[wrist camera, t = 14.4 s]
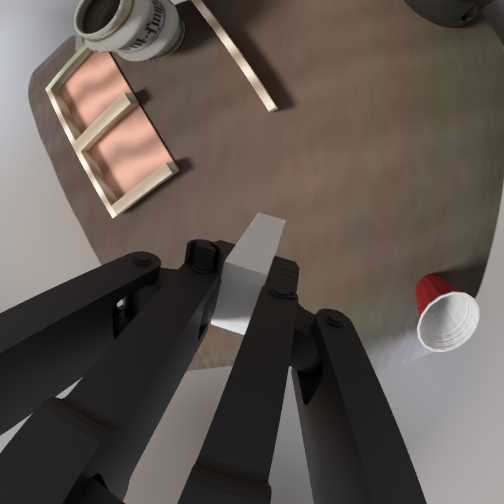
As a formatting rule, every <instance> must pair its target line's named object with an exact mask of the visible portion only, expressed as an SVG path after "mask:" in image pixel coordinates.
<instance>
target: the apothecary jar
mask: <svg viewBox="0 0 504 504" xmlns="http://www.w3.org/2000/svg"><path fill="white" fill-rule="evenodd" d="M74 26H75V29H76V31H77V33H79V34H80V37H81V40H82V42H83V43H84V45H85V46H86V47H87V48H89V49H90V50H92V51H95V52H100V53H105V52H111V51H115V52H116V53H117V54H118V55H119V56H120V57H122V58H124V59H126V60H130V61H142V60H146V59H147V60H151V59H154V58H158V59H162V58H165V57H167V56H169V55H170V54H172V53H173V52H174V51H175V50H176V49H177V48H178V46H179V45H180V44H181V42H182V40H183V37H184V34H185V26H184V22H183V20H182V18H181V17H180V16H179V15H178V12H177V9H176V7H175V5H174V4H173V3H172V2H171V1H170V0H81V2H80V3H79V5H78V7H77V10H76V12H75V16H74Z"/></svg>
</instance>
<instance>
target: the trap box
mask: <svg viewBox="0 0 504 504" xmlns="http://www.w3.org/2000/svg"><path fill="white" fill-rule="evenodd" d="M191 1H192V2H193V4H194V5H195V6H196V8H197V9H198V10H199V11H200V13H201V14H202V15H203V17H204V18H205V19H206V21H207V22H208V23H209V25H210V26H211V27H212V29H213V30H214V31H215V33H216V34H217V35H218V37H219V38H220V39H221V41H222V42H223V44H224V45H225V46H226V48H227V49H228V51H229V52H230V53H231V55H232V56H233V58H234V59H235V61H236V62H237V63H238V65H239V66H240V68H241V69H242V71H243V72H244V74H245V75H246V77H247V78H248V80H249V81H250V83H251V84H252V86H253V87H254V89H255V90H256V92H257V93H258V95H259V96H260V98H261V99H262V101H263V103H264V104H265V106H266V107H267V109H268V110H269V111H270V112H273V111H275V110H277V109H278V107H277V106H276V104H275V103H274V101H273V99H272V98H271V96H270V95H269V93H268V92H267V90H266V89H265V87H264V86H263V84H262V83H261V81H260V80H259V78H258V77H257V75H256V74H255V72H254V71H253V69H252V68H251V66H250V65H249V63H248V62H247V60H246V59H245V58H244V56H243V55H242V53H241V52H240V51H239V49H238V48H237V46H236V45H235V44H234V42H233V41H232V39H231V38H230V37H229V35H228V34H227V33H226V31H225V30H224V29H223V27H222V26H221V25H220V23H219V22H218V21H217V19H216V18H215V17H214V16H213V14H212V13H211V12H210V10H209V9H208V8H207V7H206V5H205V4H204V3H203V2H202V0H191ZM46 91H47V94H48V96H49V98H50V100H51V102H52V105H53V107H54V109H55V111H56V113H57V115H58V118H59V120H60V122H61V124H62V126H63V128H64V130H65V132H66V134H67V136H68V138H69V140H70V142H71V144H72V146H73V148H74V150H75V152H76V154H77V156H78V158H79V160H80V161H81V163H82V165H83V167H84V169H85V171H86V173H87V174H88V176H89V178H90V180H91V182H92V183H93V185H94V187H95V189H96V190H97V192H98V194H99V196H100V197H101V199H102V201H103V203H104V204H105V206H106V208H107V209H108V211H109V213H110V214H111V216H112V218H114V217H116V216H118V215H120V214H122V213H123V212H125V211H126V210H127V209H128V208H130V207H131V206H132V205H134V204H135V203H136V202H138V201H139V200H140V199H141V198H143V197H144V196H145V195H147V194H148V193H149V192H151V191H152V190H154V189H155V188H156V187H158V186H159V185H160V184H162V183H163V182H164V181H166V180H167V179H169V178H170V177H171V176H173V175H174V174H176V173H177V172H179V171H180V170H179V169H178V167H177V165H176V164H175V162H174V161H173V159H172V157H171V156H170V154H169V152H168V151H167V149H166V147H165V146H164V144H163V142H162V141H161V139H160V137H159V136H158V134H157V132H156V131H155V129H154V127H153V126H152V124H151V122H150V121H149V119H148V117H147V116H146V114H145V112H144V111H143V109H142V107H141V106H140V104H139V102H138V100H137V99H136V97H135V95H134V94H133V92H132V90H131V89H130V87H129V85H128V84H127V82H126V80H125V78H124V77H123V75H122V73H121V72H120V70H119V68H118V66H117V65H116V63H115V61H114V59H113V58H112V56H111V54H110V53H109V52H105V53H100V52H95V51H92V50H90V49H89V48H87V47H86V46H85V45H83V46H82V47H81V48H80V49H79V50H78V51H77V53H76V54H75V55H74V56H73V57H72V58H71V59H70V60H69V61H68V63H67V64H66V65H65V66H64V67H63V68H62V69H61V71H60V72H59V73H58V74H57V75H56V77H55V78H54V79H53V80H52V82H51V83H50V84H49V85H48V87H47V88H46Z"/></svg>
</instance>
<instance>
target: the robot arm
mask: <svg viewBox="0 0 504 504" xmlns="http://www.w3.org/2000/svg"><path fill="white" fill-rule="evenodd" d="M404 1H405V2H406V3H407V4H408V5H409V6H410V7H411V8H412V9H413V10H414V11H415V12H417V13H418V14H419V15H421V16H422V17H424V18H425V19H427V20H429V21H431V22H433V23H435V24H438V25H441V26H445V27H460V26H463V25H465V24H466V23H468V22H469V21H471V20H472V19H473V18H474V16H475V15H476V13H477V10H478V8H479V10H480V11H481V12H482V14H483V15H484V17H485V18H486V19H487V21H488V22H489V24H490V25H491V27H492V28H493V29H494V31H495V33H496V34H497V36H498V37H499V39H500V40H501V42H502V43H503V45H504V0H404ZM284 224H285V220H282V219H279V218H276V217H272V216H269V215H266V214H262V213H259V212H258V214H257V215H256V216H255V218H254V219H253V221H252V222H251V224H250V225H249V227H248V228H247V229H246V231H245V232H244V234H243V235H242V237H241V238H240V240H239V241H238V242H237V244H236V245H235V244H232V243H228V242H225V241H222V240H219V241H216V242H212V241H208V240H199V239H197V240H191V241H189V242H188V243H187V249H186V255H185V261H184V264H183V265H182V266H181V267H180V268H179V269H178V270H176V269H167V268H160V266H161V261H160V259H159V258H158V257H157V256H156V255H154V254H151V253H149V252H144V251H141V252H133V253H130V254H127V255H125V256H123V257H120V258H118V259H116V260H113V261H111V262H109V263H107V264H104V265H102V266H100V267H98V268H95V269H93V270H91V271H89V272H86V273H84V274H82V275H80V276H78V277H75V278H73V279H71V280H69V281H67V282H64V283H62V284H60V285H58V286H56V287H54V288H51V289H50V290H47V291H45V292H43V293H41V294H39V295H37V296H35V297H33V298H30V299H29V300H26V301H24V302H22V303H20V304H18V305H16V306H14V307H12V308H10V309H8V310H6V311H4V312H2V313H0V435H2V434H3V433H5V432H6V431H8V430H9V429H11V428H12V427H14V426H15V425H16V424H18V423H19V422H21V421H22V420H23V419H25V418H26V417H28V416H29V415H30V414H32V413H33V414H32V415H31V416H30V417H29V418H28V420H27V421H26V422H25V423H24V424H23V426H22V427H21V428H20V429H19V431H18V432H17V433H16V434H15V435H14V437H13V438H12V439H11V440H10V442H9V443H8V444H7V445H6V447H5V448H4V449H3V450H2V452H1V453H0V504H125V503H124V502H123V499H124V497H125V495H126V492H127V489H128V485H129V480H130V477H131V475H132V473H133V471H134V469H135V467H136V465H137V463H138V461H139V459H140V458H141V455H142V454H143V452H144V450H145V448H146V446H147V444H148V442H149V440H150V438H151V437H152V435H153V433H154V431H155V429H156V427H157V425H158V423H159V421H160V420H161V418H162V416H163V414H164V412H165V410H166V408H167V406H168V404H169V402H170V401H171V399H172V397H173V395H174V393H175V391H176V389H177V387H178V386H179V384H180V382H181V380H182V378H183V376H184V374H185V372H186V370H187V369H188V367H189V365H190V363H191V361H192V359H193V357H194V355H195V353H196V352H197V350H198V348H199V346H200V344H201V342H202V340H203V338H204V336H205V335H206V333H207V330H208V325H209V321H210V319H211V317H212V321H211V324H213V325H216V326H219V327H222V328H225V329H228V330H231V331H234V332H237V333H240V334H243V335H244V338H243V340H242V343H241V346H240V349H239V351H238V354H237V357H236V359H235V362H234V365H233V367H232V370H231V373H230V375H229V378H228V381H227V383H226V386H225V389H224V391H223V394H222V397H221V400H220V402H219V405H218V407H217V410H216V412H215V415H214V418H213V420H212V423H211V426H210V428H209V430H208V433H207V436H206V438H205V441H204V443H203V447H202V449H201V451H200V453H199V456H198V458H197V461H196V463H195V464H194V466H193V468H192V470H191V472H190V475H189V477H188V479H187V482H186V484H185V487H184V489H183V492H182V494H181V496H180V499H179V501H178V504H270V501H271V494H272V493H271V486H270V485H269V484H268V478H269V473H270V467H271V463H272V457H273V453H274V448H275V442H276V437H277V432H278V427H279V422H280V415H281V410H282V405H283V399H284V393H285V387H286V381H287V375H288V368H289V366H291V367H292V371H291V373H292V379H293V385H294V390H295V396H296V401H297V407H298V412H299V418H300V424H301V429H302V436H303V441H304V447H305V453H306V459H307V465H308V470H309V476H310V483H311V488H312V494H313V501H314V504H426V500H425V497H424V495H423V492H422V489H421V486H420V483H419V480H418V478H417V475H416V472H415V469H414V467H413V464H412V461H411V459H410V456H409V454H408V451H407V448H406V446H405V443H404V441H403V438H402V436H401V433H400V431H399V428H398V426H397V423H396V421H395V418H394V416H393V414H392V411H391V408H390V406H389V404H388V402H387V399H386V397H385V394H384V392H383V390H382V387H381V385H380V383H379V381H378V378H377V376H376V374H375V371H374V369H373V367H372V365H371V362H370V360H369V358H368V356H367V354H366V351H365V349H364V347H363V345H362V343H361V341H360V338H359V336H358V334H357V332H356V330H355V328H354V326H353V324H352V322H351V321H350V319H349V318H348V317H347V316H345V315H344V314H343V313H341V312H339V311H337V310H332V309H321V310H319V311H318V312H317V313H316V315H315V314H313V313H311V312H309V311H307V310H305V309H304V308H303V307H301V306H300V304H299V303H298V295H297V294H296V291H297V284H298V276H299V267H298V265H297V263H296V262H294V261H291V260H287V259H284V258H281V257H277V256H275V254H276V251H277V248H278V244H279V241H280V237H281V234H282V231H283V227H284ZM122 299H123V305H121V306H120V307H117V303H118V302H119V301H120V300H122ZM212 315H213V316H212ZM82 377H83V378H82ZM81 378H82V379H81ZM79 379H81V380H80V381H79V382H78V384H77V385H76V386H75V387H74V388H73V390H72V391H71V392H70V393H69V394H68V395H67V396H66V397H65V398H63V399H60V398H56V396H57V395H58V394H60V393H61V392H62V391H64V390H65V389H67V388H68V387H69V386H71V385H72V384H74V383H75V382H76V381H78V380H79Z"/></svg>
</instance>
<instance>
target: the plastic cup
mask: <svg viewBox="0 0 504 504" xmlns="http://www.w3.org/2000/svg"><path fill="white" fill-rule="evenodd" d="M416 298H417V304H418V310H419V316H420V317H419V318H420V320H419V323H418V326H417V330H418V338H419V340H420V341H421V343H422V344H423V346H424V347H426V348H428V349H430V350H432V351H440V352H445V351H448V350H452V349H455V348H457V347H459V346H460V345H461V344H463V343H464V342H466V341H467V340H468V339H469V338H470V336H471V335H472V334H473V333H474V331H475V329H476V327H477V324H478V321H479V307H478V305H477V303H476V301H475V299H474V298H472V297H471V296H469V295H468V294H466V293H464V292H460V291H459V290H458V289H456V288H455V287H454V286H453V285H451V284H450V283H449V282H447V281H445V280H444V279H443V278H441V277H440V276H438V275H434V274H430V275H427V276H425V277H423V278H422V279H421V280H420V281H419V283H418V284H417V287H416Z"/></svg>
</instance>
